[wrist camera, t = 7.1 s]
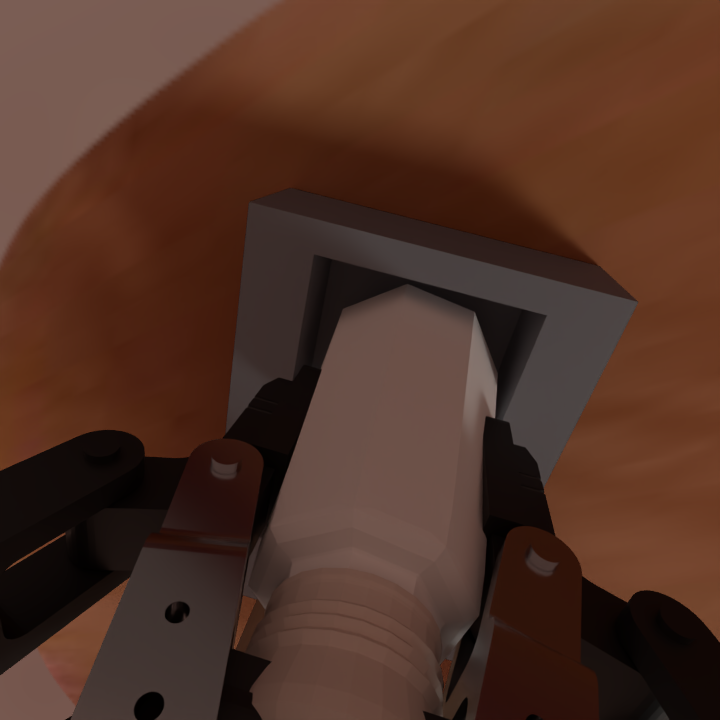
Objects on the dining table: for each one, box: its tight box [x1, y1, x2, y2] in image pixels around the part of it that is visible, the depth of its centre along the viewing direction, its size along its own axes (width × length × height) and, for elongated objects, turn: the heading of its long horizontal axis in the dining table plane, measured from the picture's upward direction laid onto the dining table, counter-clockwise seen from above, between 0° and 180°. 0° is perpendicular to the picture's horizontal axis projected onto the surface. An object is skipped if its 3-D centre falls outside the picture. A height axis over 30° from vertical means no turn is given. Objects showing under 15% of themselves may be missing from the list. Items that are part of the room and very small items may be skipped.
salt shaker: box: [245, 284, 498, 720], centre depth 10 cm, size 5×5×11 cm
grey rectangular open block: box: [225, 188, 638, 661], centre depth 17 cm, size 15×10×4 cm, turn 168°
